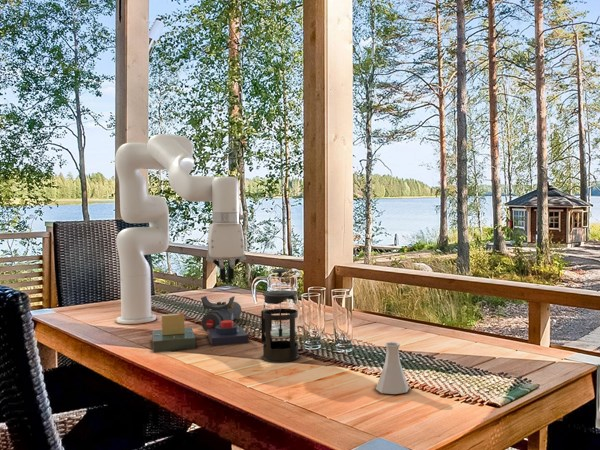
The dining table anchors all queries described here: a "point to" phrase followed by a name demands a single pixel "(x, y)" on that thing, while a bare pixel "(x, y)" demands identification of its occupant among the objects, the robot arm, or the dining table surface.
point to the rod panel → (173, 341)
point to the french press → (280, 349)
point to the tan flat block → (173, 324)
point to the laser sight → (219, 312)
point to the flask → (392, 372)
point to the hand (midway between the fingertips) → (226, 281)
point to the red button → (226, 323)
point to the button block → (227, 335)
